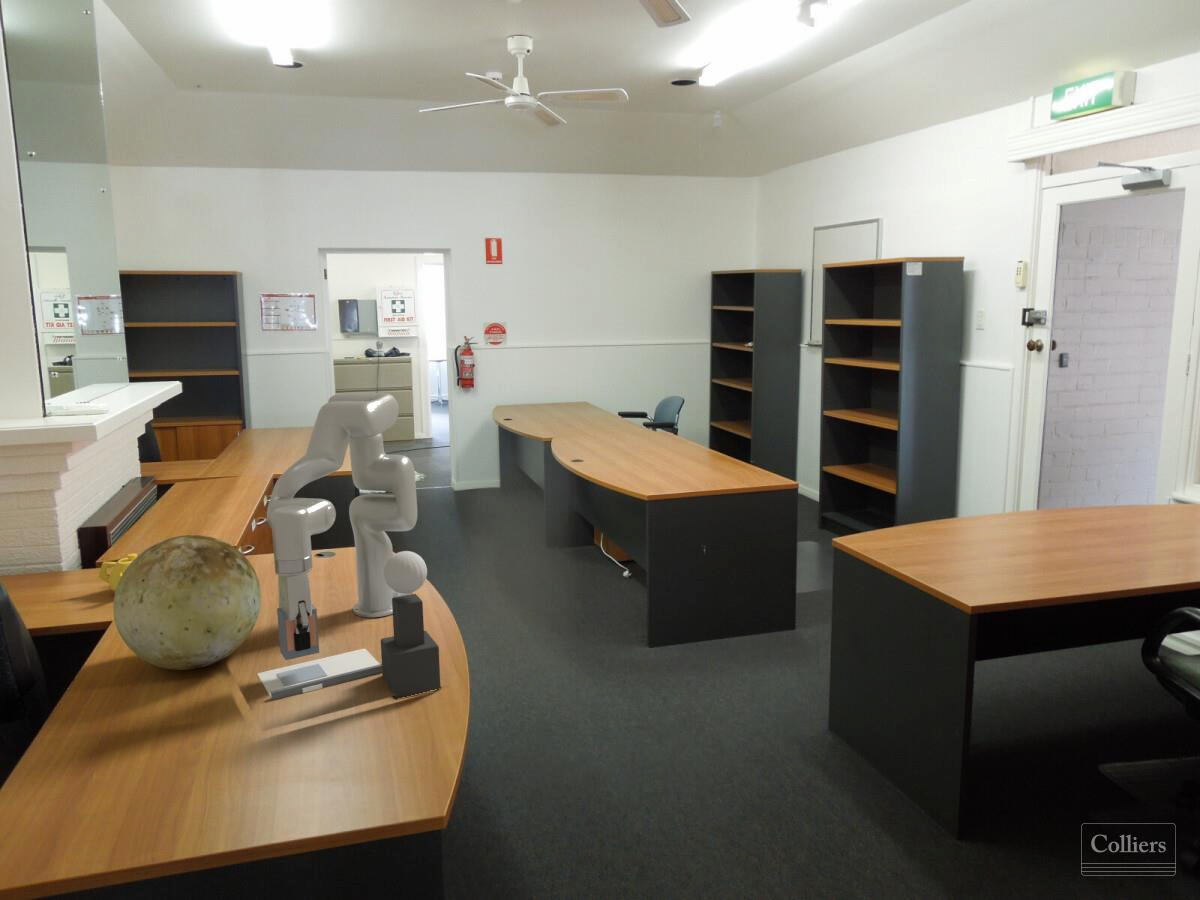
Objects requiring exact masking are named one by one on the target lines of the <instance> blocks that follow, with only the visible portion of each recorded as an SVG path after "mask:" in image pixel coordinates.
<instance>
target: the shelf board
mask: <svg viewBox="0 0 1200 900" xmlns="http://www.w3.org/2000/svg"><path fill="white" fill-rule="evenodd" d="M378 674H382V663H381V664H380V662H379V661H378V660H377V659H376V658H375V657H374V656H373V655H372V654H371V653H370V652H369V651H368V650H367V649H366V648H365V647H364V648H360V649H357V650H356V649H355V650H353V651H348V652H343V653H339V654H335V655H331V656H327V657H322V658H318V659H313V660H310V661H309V660H307V661H305V662H301V663H297V664H291V665H287V666H283V667H280V668H276V669H275V668H274V669H271V670H266V671H262V672H258V673H256V675H257V676H258V678H259V680H260V682H261V684H262V685H263V686H264V689H265V690H266V692H267V693H268V696H269V697H270V699H271V701H275V700H279V699H282V698H287V697H290V696H294V695H299V694H304V693H310V692H313V691H317V690H321V689H323V688H327V687H330V686H334V685H338V684H342V683H346V682H350V681H354V680H358V679H363V678H367V677H370V676H374V675H378Z"/></svg>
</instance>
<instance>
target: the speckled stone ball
mask: <svg viewBox="0 0 1200 900" xmlns="http://www.w3.org/2000/svg"><path fill="white" fill-rule="evenodd" d="M139 554H140V555H139ZM139 554H138V555H139V556H138V555H137V557H136V558H135V559H134V560H133V561H132V563H131V564H130V565H129V566H128V567H127V569H126V570H125V572H124V573H123V575H122V577H121V579H120V581H119V583H118V585H117V589H116V592H115V591H114V597H113V617H114V623H115V626H116V630H117V632H118V634H119V636H120V638H121V639H122V641H123V642H124V644H125V645H126V647H128V648H129V650H130V651H132V652H133V654H135V655H136V657H138V658H140V659H142V660H143V661H146V662H147V663H149V664H151V665H154V666H155V667H159V668H163V669H168V670H174V671H175V670H177V671H187V670H194V669H201V668H204V667H208V666H210V665H213V664H216V663H218V662H219V661H222V660H223V659H225V658H227V657H228V656H230V655H231V654H232V653H234V652H235V651H236V650H237V649H239V647H240V646H241V645H242V644H243V643H245V641H246V640H247V639H248V637H249V635H250V634H251V633H252V632H253V631H252V630H253V629H254V627H255V626H256V623H257V620H258V619H259V615H260V611H261V605H262V588H261V584H260V580H259V577H258V574H257V572H256V570H255V568H254V567H253V565H252V563H251V561H249V559H248V558H247V556H246V555H244V554H243V553H242V552H241V551H240V550H239V549H237V548H236V547H234V546H233V545H231V544H230V543H229V542H226V541H223V540H222V539H219V538H215V537H212V536H207V535H202V534H201V535H200V534H199V535H198V534H188V535H187V534H186V535H179V536H175V537H170V538H166V539H164V540H161V541H159V542H156V543H155V544H153V545H151V546H150V547H148V548H146V549H145V550H144V551H142V552H141V553H139Z"/></svg>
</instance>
